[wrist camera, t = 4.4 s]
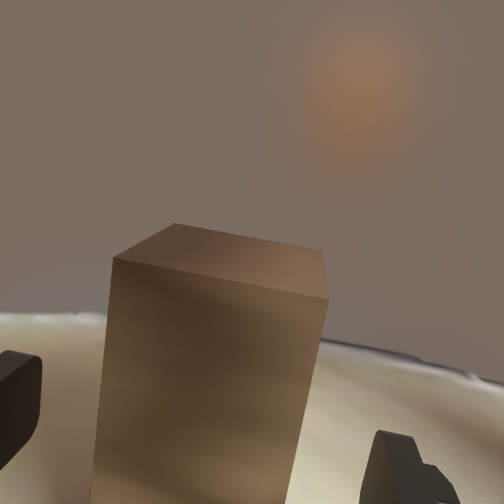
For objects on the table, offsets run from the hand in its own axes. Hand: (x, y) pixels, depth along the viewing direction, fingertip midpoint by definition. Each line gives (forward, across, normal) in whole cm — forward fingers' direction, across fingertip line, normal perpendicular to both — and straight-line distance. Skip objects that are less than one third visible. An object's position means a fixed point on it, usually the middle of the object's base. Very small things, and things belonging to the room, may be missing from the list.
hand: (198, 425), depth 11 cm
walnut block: (+2, 0, +6) cm, 7 cm away
